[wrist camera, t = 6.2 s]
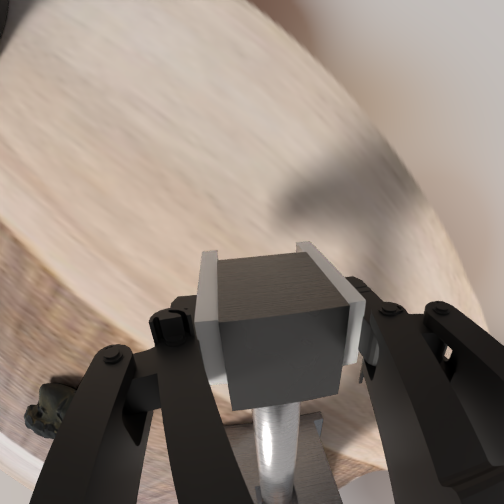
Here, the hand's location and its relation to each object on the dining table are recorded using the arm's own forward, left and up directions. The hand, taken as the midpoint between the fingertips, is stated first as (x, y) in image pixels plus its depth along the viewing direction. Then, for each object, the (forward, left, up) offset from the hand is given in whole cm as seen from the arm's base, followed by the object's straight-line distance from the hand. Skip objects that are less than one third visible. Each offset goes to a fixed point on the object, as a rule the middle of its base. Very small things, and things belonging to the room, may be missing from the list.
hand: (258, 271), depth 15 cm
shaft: (+12, 0, +2) cm, 12 cm away
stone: (+15, -17, -5) cm, 23 cm away
